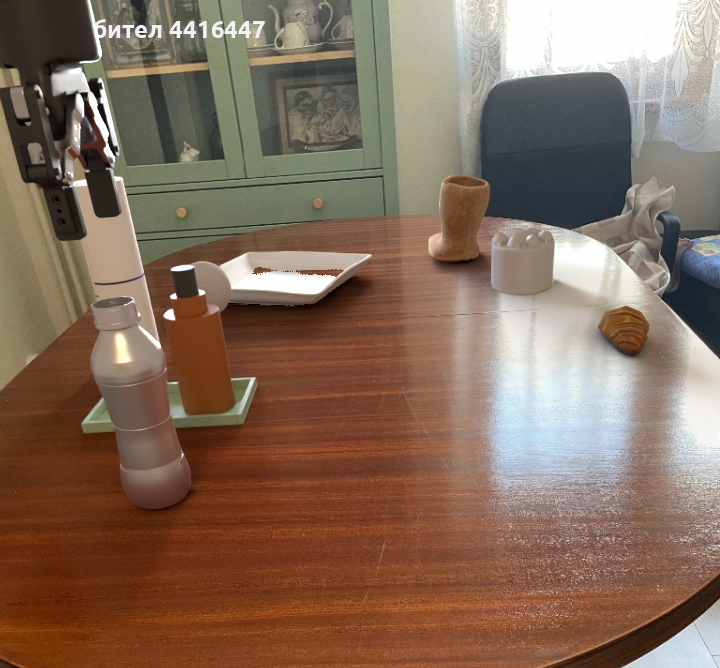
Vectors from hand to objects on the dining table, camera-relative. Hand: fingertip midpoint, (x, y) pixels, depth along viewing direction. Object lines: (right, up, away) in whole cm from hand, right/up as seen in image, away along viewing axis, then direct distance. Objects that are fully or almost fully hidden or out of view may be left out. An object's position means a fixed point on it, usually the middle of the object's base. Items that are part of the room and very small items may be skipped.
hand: (92, 227), depth 59 cm
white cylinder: (+2, -5, +43) cm, 43 cm away
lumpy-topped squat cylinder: (+50, +13, +67) cm, 85 cm away
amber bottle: (+3, -11, +31) cm, 33 cm away
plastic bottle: (+2, -23, +13) cm, 26 cm away
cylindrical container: (-11, -3, +48) cm, 49 cm away
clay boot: (+42, +24, +87) cm, 99 cm away
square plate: (+7, +15, +76) cm, 78 cm away
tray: (-1, -12, +32) cm, 34 cm away
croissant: (+58, -2, +40) cm, 70 cm away
